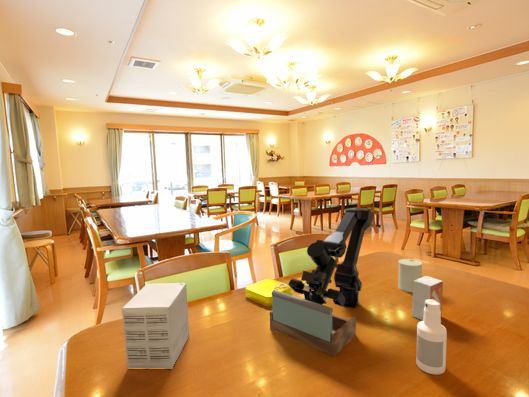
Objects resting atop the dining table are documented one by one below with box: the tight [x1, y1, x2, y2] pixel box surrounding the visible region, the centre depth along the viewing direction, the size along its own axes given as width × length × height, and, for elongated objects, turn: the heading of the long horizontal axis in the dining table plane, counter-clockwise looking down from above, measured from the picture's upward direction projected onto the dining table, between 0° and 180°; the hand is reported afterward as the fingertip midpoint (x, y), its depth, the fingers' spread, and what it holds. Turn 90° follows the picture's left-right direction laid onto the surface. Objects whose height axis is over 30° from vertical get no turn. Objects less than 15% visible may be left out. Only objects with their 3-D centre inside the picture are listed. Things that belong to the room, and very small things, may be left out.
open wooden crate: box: [269, 309, 357, 357], centre depth 101 cm, size 14×24×6 cm, turn 49°
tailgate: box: [271, 290, 334, 342], centre depth 96 cm, size 2×21×10 cm, turn 49°
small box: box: [411, 275, 444, 321], centre depth 108 cm, size 8×6×13 cm
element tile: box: [244, 277, 293, 307], centre depth 130 cm, size 15×15×5 cm
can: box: [397, 258, 423, 294], centre depth 132 cm, size 9×9×12 cm
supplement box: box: [121, 282, 190, 370], centre depth 92 cm, size 17×13×18 cm
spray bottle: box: [415, 299, 448, 376], centre depth 82 cm, size 7×7×18 cm
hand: (305, 316), depth 98 cm, fingers closed
